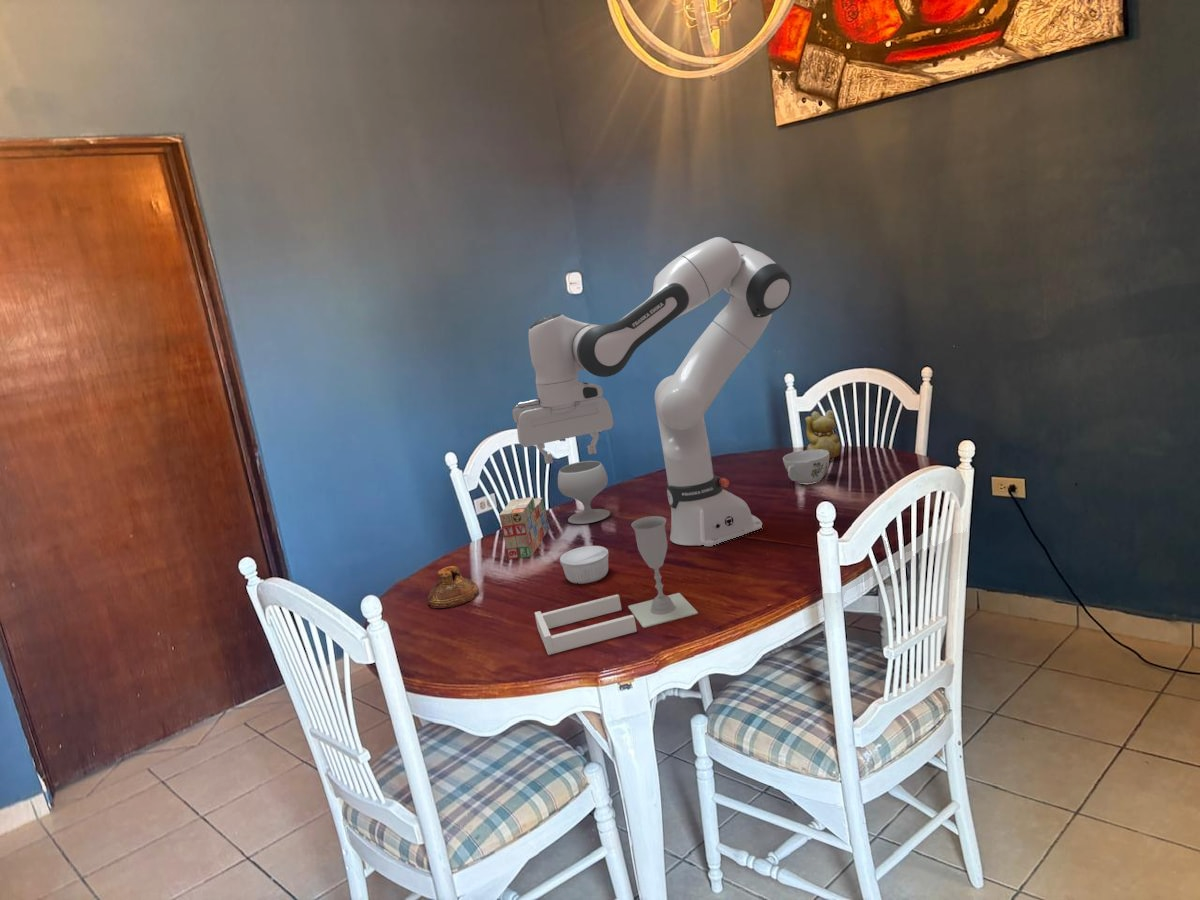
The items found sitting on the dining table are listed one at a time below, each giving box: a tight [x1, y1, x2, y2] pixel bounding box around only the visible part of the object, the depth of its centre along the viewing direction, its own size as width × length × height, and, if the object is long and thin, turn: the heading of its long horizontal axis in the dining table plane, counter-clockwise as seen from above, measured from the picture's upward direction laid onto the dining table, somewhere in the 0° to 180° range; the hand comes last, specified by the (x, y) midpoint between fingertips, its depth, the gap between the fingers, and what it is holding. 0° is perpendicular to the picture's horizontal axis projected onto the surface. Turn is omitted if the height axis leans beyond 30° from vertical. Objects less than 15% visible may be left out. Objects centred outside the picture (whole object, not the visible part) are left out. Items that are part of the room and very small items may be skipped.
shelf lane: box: [534, 593, 638, 656], centre depth 157 cm, size 17×12×4 cm
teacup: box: [782, 449, 830, 484], centre depth 225 cm, size 15×12×8 cm
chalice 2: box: [631, 515, 676, 615], centre depth 158 cm, size 7×7×18 cm
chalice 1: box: [557, 460, 611, 525], centre depth 227 cm, size 14×14×15 cm
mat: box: [627, 592, 699, 629], centre depth 161 cm, size 11×11×1 cm
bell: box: [427, 565, 480, 608], centre depth 186 cm, size 12×12×7 cm
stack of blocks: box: [498, 496, 550, 560], centre depth 214 cm, size 21×6×12 cm, turn 171°
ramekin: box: [559, 545, 610, 585], centre depth 185 cm, size 11×11×5 cm
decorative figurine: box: [804, 409, 842, 461], centre depth 243 cm, size 10×8×15 cm
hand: (571, 458), depth 173 cm, fingers open, 8 cm apart
